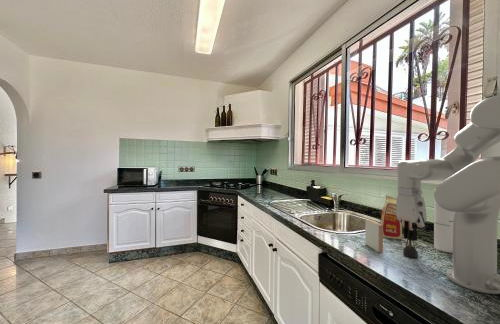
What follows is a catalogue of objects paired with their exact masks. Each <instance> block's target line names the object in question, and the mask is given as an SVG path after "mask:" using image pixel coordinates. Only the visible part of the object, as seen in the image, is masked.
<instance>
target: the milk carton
mask: <svg viewBox="0 0 500 324" xmlns="http://www.w3.org/2000/svg"><path fill="white" fill-rule="evenodd" d="M396 202H397V197H394V196H390V195H387V194H386V195H385V201H384V204H383V208H382V211H381V216H380V217H381V218H380V224H381V225H383V238H387V239H388V238H389V239H395V240H396V239H397V240H402V239H403V227H402V223H401V222H400V221H399V220H398V219H397V215H396Z"/></svg>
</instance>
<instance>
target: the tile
mask: <svg viewBox="0 0 500 324" xmlns="http://www.w3.org/2000/svg"><path fill="white" fill-rule="evenodd" d="M364 229H365V233H364V234H365V235H364V236H365V238H364V240H365V245H366V246H368V247H369V248H371V249H373V250H374V251H376V252H377V253H384V237H383V225H381V223H378V222H376V221H374V220H371V219H369V218H368V219H365V228H364Z"/></svg>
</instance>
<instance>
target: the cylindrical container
mask: <svg viewBox="0 0 500 324" xmlns="http://www.w3.org/2000/svg"><path fill="white" fill-rule="evenodd" d="M433 189H434V191H433V192H435V189H436V188H433ZM433 198H434V197H433ZM433 203H434V204H433V206H434V207H433V209H434V212H433V213H434V215H433V216H434V217H433V220H434V221H433V222H434V224H433V227H434V228H433V239H434V241H433V247H434V249H436V250H438V251H441V252H445V253H451V254H453V218H454V214H455V212H451V211H447V210H445V209H443V208H441V207H440V206H439V205H438V204H437V203H436V201H435V198H434V201H433Z"/></svg>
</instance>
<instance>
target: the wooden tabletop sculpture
mask: <svg viewBox="0 0 500 324" xmlns="http://www.w3.org/2000/svg"><path fill="white" fill-rule="evenodd" d="M408 230H410V229H409V222H408ZM418 253H419V252H418V250H417V249H416V246H415V240H412V241H410V240H408V237H407V238H406V244H405V247H404V248H403V250H402V255H404V256H406V257H410V258H418V257H419V254H418Z"/></svg>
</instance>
